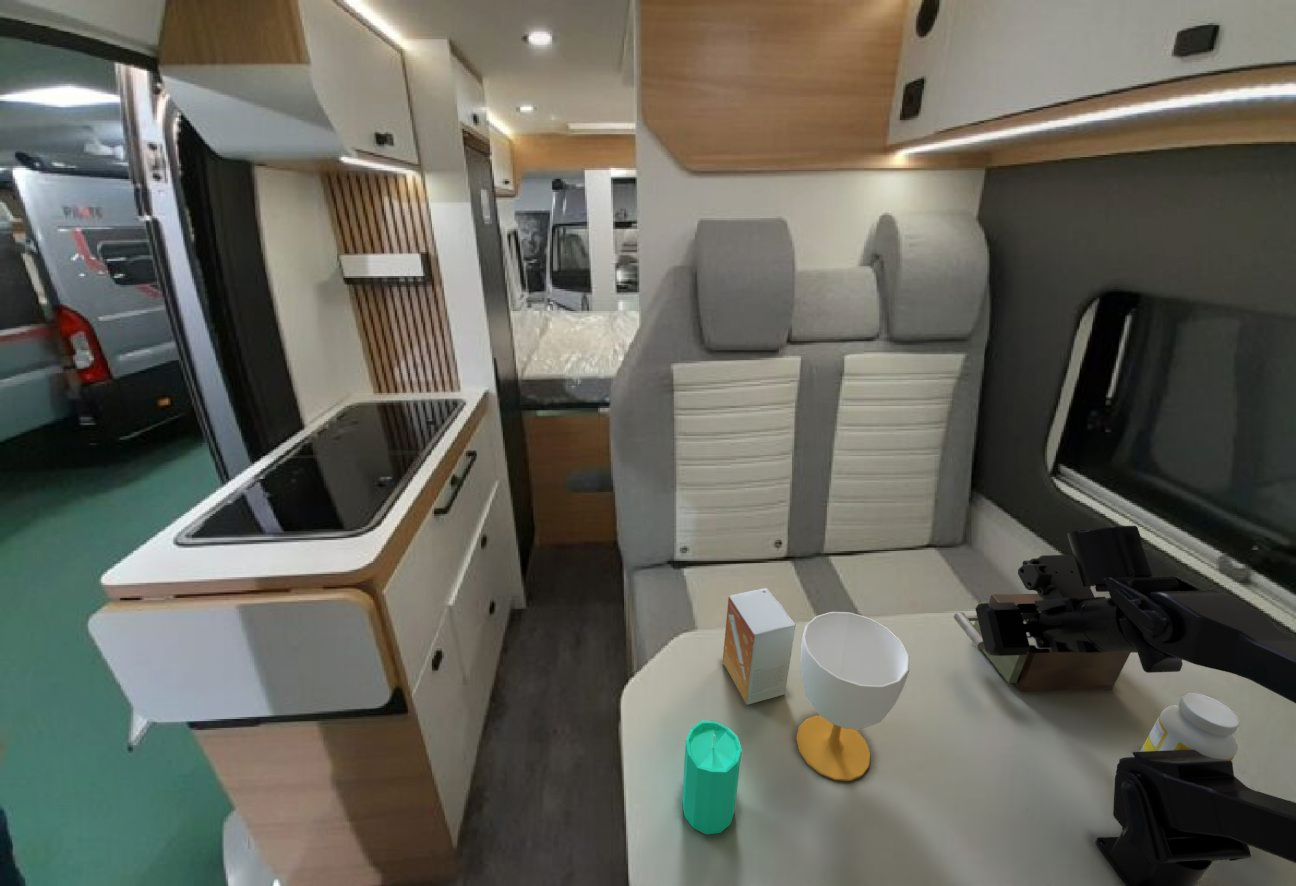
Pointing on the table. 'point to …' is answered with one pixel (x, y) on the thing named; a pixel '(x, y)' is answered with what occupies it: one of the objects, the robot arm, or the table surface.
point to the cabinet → (1065, 663)
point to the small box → (758, 645)
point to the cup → (847, 689)
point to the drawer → (1004, 664)
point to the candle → (710, 776)
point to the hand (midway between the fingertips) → (1011, 628)
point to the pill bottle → (1195, 728)
